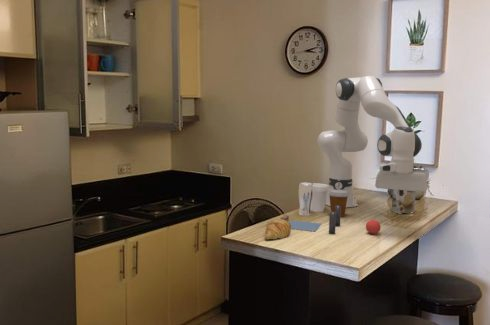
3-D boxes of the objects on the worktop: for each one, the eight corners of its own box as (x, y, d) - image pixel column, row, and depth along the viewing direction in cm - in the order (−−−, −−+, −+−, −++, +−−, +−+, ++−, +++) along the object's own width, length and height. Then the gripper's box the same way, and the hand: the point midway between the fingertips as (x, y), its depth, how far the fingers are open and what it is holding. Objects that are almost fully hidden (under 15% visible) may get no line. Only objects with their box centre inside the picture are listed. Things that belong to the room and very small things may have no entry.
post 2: (334, 224, 228) (335, 205, 227) (340, 225, 227) (341, 205, 226) (333, 226, 226) (334, 206, 225) (339, 226, 225) (340, 206, 224)
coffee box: (398, 214, 250) (400, 182, 248) (391, 211, 256) (393, 180, 254) (414, 213, 253) (416, 181, 251) (406, 210, 259) (408, 179, 257)
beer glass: (295, 213, 249) (296, 182, 247) (307, 212, 251) (308, 181, 249) (302, 216, 242) (303, 185, 240) (315, 215, 245) (316, 184, 243)
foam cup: (330, 212, 252) (331, 186, 250) (312, 213, 249) (313, 187, 247) (321, 208, 261) (323, 183, 259) (305, 209, 258) (306, 183, 256)
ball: (366, 231, 219) (367, 217, 218) (380, 232, 217) (381, 218, 216) (364, 234, 213) (365, 220, 213) (379, 236, 211) (380, 222, 211)
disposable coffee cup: (334, 218, 240) (335, 193, 238) (323, 214, 248) (324, 189, 246) (351, 217, 243) (353, 192, 242) (340, 212, 252) (341, 188, 250)
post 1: (329, 232, 216) (330, 211, 215) (335, 232, 215) (336, 212, 214) (328, 233, 214) (329, 212, 212) (334, 234, 213) (335, 213, 211)
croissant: (272, 251, 201) (282, 235, 198) (252, 236, 204) (261, 220, 201) (293, 237, 219) (302, 222, 216) (274, 223, 222) (283, 208, 220)
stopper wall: (284, 220, 234) (284, 215, 234) (288, 221, 233) (288, 215, 233) (276, 226, 223) (277, 221, 222) (281, 227, 222) (281, 221, 222)
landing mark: (291, 220, 234) (291, 220, 234) (321, 224, 229) (321, 223, 229) (283, 228, 221) (283, 227, 221) (315, 231, 216) (315, 231, 216)
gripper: (429, 167, 207) (427, 201, 209) (377, 164, 214) (375, 197, 216) (429, 169, 201) (426, 204, 203) (375, 166, 208) (374, 199, 210)
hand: (400, 200), depth 210 cm, fingers closed
